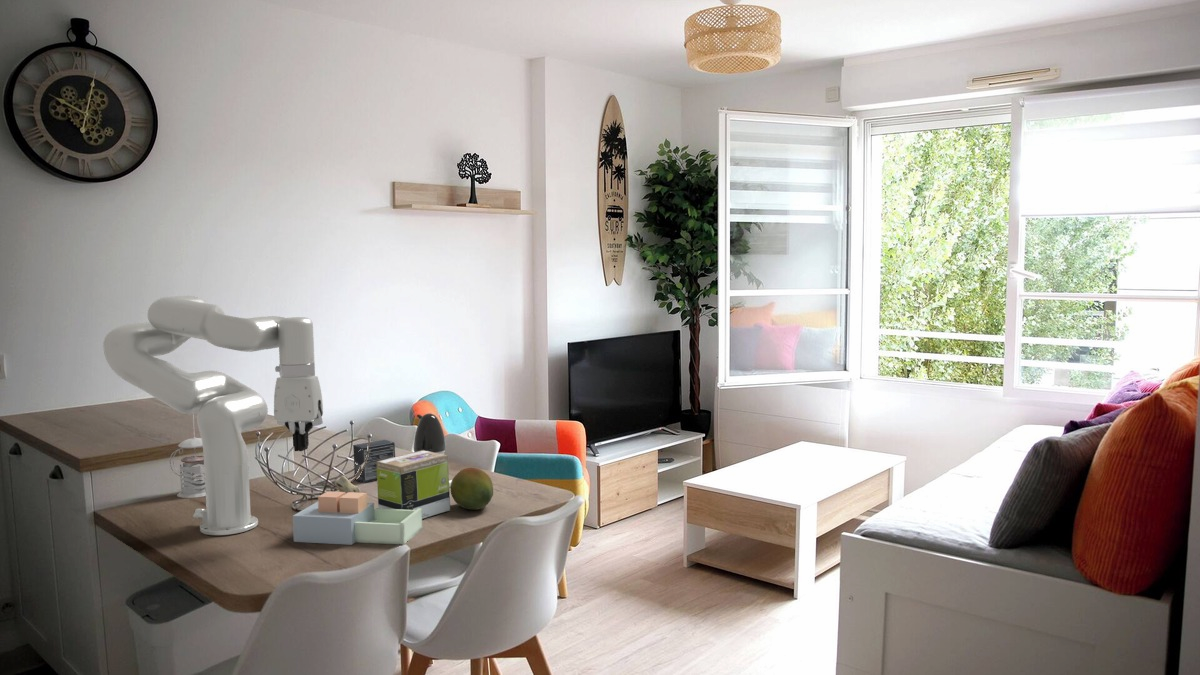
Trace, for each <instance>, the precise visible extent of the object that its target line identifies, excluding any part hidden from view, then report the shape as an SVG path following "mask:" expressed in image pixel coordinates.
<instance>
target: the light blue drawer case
mask: <svg viewBox="0 0 1200 675" xmlns="http://www.w3.org/2000/svg"><path fill="white" fill-rule="evenodd" d="M374 509H375V502H367V508H366V509H364V510H363V511H361V512H360V513H340V511H339V512H319V509H318V501H316V502H314V503H313V504H311V505H309V506H307V507H305V508H304V509H302V510H300V511H298V512H296V513H295V514H294V515H292V528H293V529H292V530H293V531H292V532H293V535H292V537H293V542H294V543H313V544H316V543H317V544H326V545H327V544H330V545H331V544H332V545H347V546H351V545H354V544H355V543H356V542H355V522H371V521H372V520H374V519H375V515H374Z"/></svg>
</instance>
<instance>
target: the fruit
mask: <svg viewBox="0 0 1200 675" xmlns="http://www.w3.org/2000/svg"><path fill="white" fill-rule="evenodd" d="M451 480H452V482H451V487H450V494H451V495H450V496H451V497H452V499H453V500H454V502H455V504H457V505H458V506H460V507H462V508H465V509H467V510H481V509H483V508H485V507H486V506H487V505H488V504H489V503H490V502H491V500H492V498H493V497H494V487H493V486H494V485H493V482H492V479H491V477H490V475H489V474H488V473H486V471H484V470H483V469H480V468H476V467H466V468H463V469H461V470H459V471H458V472H457V473H456V474H455V475H454V477H453V478H452V479H451Z"/></svg>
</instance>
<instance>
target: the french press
mask: <svg viewBox="0 0 1200 675" xmlns="http://www.w3.org/2000/svg"><path fill="white" fill-rule="evenodd" d="M194 415H195V413H193V414H192V424H193V429H195V416H194ZM195 435H196V433H195V430H193V437H192V438H188V439H185V440H183V441H182V442H180V443H178V444H177V446H178V447H179V448H178V449H176V450H174V451H173V452H172V453H171V455H170V457H169V467H170V470H171V471H172V473H174V474H175V475H176V476H179V479H180V480H179V482H180V491H179V492H178V493H177V494H176V496H177V497H178V498H185V499H194V498H201V497H206V490H205V469H204V454H202V455H201V454H200V455H198V454H197V453H196V452H197V451H196V450H194V455H190V456H185V457H182V458H181V459H180V462H181V463H182V464H179V470H178V469H177V467H176V464H175V456H176V454H177V453H178V454H179V455H182V454H183V453H184V449H199V448H203V445H202V439H201V437H196V436H195ZM196 454H197V455H196ZM171 460H172V461H171ZM171 462H172V463H171ZM172 465H173V467H174V469H173V467H172ZM197 465H198V466H197ZM199 465H200V466H199ZM175 471H176V472H175ZM177 472H178V473H179V474H178V473H177Z"/></svg>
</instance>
